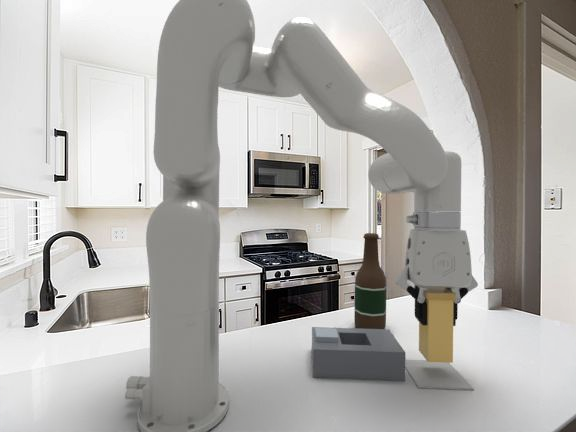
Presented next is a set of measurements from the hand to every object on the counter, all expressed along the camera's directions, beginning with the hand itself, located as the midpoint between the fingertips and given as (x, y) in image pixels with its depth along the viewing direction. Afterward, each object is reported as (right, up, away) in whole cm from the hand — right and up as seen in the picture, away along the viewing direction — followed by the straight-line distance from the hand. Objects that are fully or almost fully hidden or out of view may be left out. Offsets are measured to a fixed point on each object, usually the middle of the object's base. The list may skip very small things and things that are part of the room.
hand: (435, 321), depth 53 cm
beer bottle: (-6, -9, +21) cm, 24 cm away
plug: (0, -6, 0) cm, 6 cm away
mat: (0, -10, 0) cm, 10 cm away
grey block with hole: (-14, -9, +3) cm, 17 cm away
